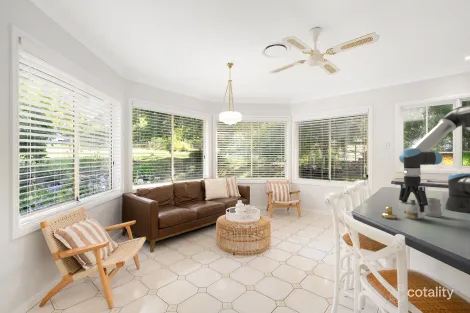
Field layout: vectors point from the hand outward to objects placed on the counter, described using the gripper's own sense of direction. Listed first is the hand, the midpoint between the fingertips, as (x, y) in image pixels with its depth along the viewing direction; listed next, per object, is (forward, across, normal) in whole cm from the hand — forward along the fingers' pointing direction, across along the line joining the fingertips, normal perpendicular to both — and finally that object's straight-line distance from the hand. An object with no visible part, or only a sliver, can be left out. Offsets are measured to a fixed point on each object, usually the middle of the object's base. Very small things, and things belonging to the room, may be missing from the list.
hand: (412, 215), depth 130 cm
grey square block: (-3, 0, 0) cm, 3 cm away
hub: (+1, -3, -12) cm, 12 cm away
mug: (+2, -4, +14) cm, 15 cm away
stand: (+1, 0, 0) cm, 1 cm away
